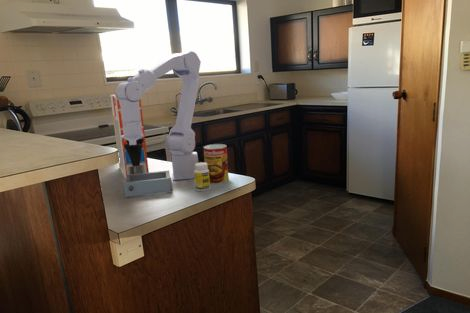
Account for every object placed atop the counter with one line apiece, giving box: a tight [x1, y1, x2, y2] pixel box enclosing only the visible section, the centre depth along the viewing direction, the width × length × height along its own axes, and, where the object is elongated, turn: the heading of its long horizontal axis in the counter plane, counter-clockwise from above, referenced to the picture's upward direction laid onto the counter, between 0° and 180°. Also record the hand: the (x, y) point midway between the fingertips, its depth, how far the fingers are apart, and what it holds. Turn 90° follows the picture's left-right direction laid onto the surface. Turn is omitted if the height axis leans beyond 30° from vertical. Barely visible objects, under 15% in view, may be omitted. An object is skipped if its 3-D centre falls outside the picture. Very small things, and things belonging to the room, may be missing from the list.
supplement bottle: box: [194, 161, 211, 192], centre depth 120 cm, size 5×5×8 cm
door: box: [123, 176, 173, 198], centre depth 117 cm, size 14×2×4 cm, turn 102°
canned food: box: [203, 143, 229, 185], centre depth 129 cm, size 8×8×12 cm
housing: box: [124, 170, 171, 182], centre depth 123 cm, size 14×10×4 cm
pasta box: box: [109, 93, 150, 180], centre depth 144 cm, size 23×8×30 cm, turn 23°
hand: (136, 163), depth 121 cm, fingers open, 7 cm apart
